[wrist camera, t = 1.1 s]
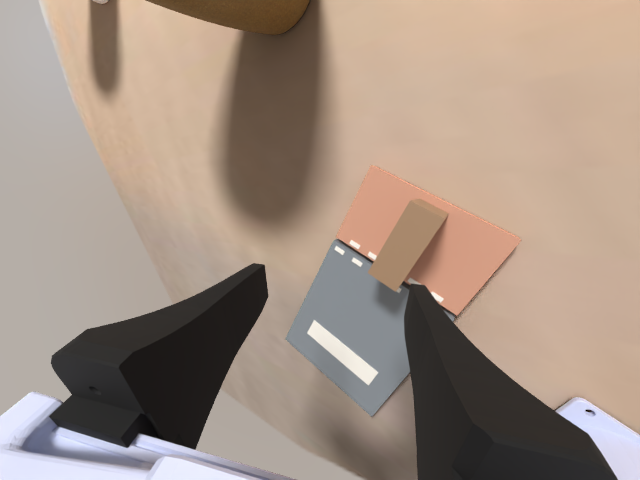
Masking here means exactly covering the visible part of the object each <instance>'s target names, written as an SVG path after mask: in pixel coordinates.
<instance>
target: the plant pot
mask: <svg viewBox="0 0 640 480" xmlns="http://www.w3.org/2000/svg"><path fill="white" fill-rule="evenodd" d="M146 1H149V2H151V3H154V4H157V5H159V6H162V7H165V8H168V9H170V10H173V11H176V12H179V13H182V14H185V15H188V16H191V17H194V18H197V19H201V20H204V21H207V22H211V23H215V24H218V25H222V26H226V27H230V28H234V29H239V30H244V31H249V32H255V33H262V34H270V35H278V34H282V33H284V32H286V31H288V30H289V29H291V28H292V27H293V26H294V25H295V24H296V23H297V22H298V21H299V19H300V18H301V17H302V15H303V13H304V12H305V10H306V8H307V6H308V4H309V1H310V0H146Z"/></svg>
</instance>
